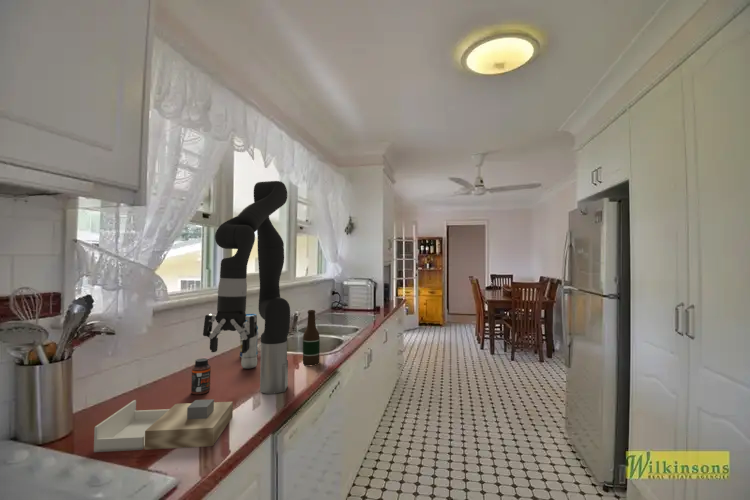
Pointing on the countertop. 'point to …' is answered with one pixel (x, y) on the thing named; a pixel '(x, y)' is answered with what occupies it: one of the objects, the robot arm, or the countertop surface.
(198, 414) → the grey block
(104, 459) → the countertop surface
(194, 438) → the board
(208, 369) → the supplement bottle
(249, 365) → the plastic bottle
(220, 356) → the countertop surface
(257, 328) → the beverage bottle
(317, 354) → the beer bottle
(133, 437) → the box
